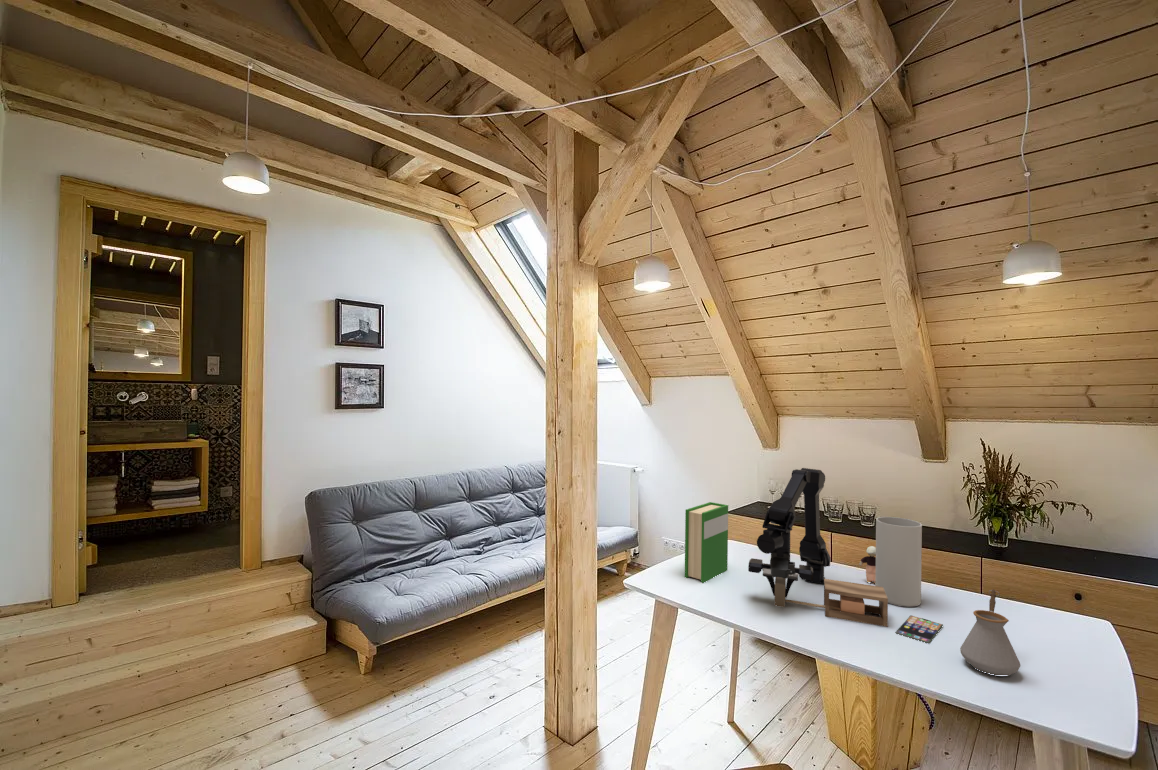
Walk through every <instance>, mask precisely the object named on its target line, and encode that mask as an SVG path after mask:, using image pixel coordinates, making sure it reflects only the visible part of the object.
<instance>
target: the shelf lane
mask: <svg viewBox="0 0 1158 770" xmlns="http://www.w3.org/2000/svg"><path fill="white" fill-rule="evenodd" d="M830 594H832V595H839V596H840V595H844V596H851V597H857V598H863V600H871V601H876V602H877V601H878V605H872V604H865V609H864V613H867V614H868V615H867V614H864V615H863V614H857V613H851V612H845V611H839V610H833V609H829V606H831V607H837V608H840V599H833V598H830ZM888 604H889V603H888V598H887V595H886V593H885V591H884V588H883V587H879V586H875V585H872V584H864V583H858V582H851V581H843V580H835V579H829V578H825V579H824V584H823V605H825V608H824V617H827V618H834V619H839V620H844V621H851V622H856V623H857V622H858V623H862V624H869V625H875V626H879V627H881V626H882V627H887V628H888V622H889V621H888V619H889V618H888V613H889V612H888V611H889V610H888V609H889V608H888V606H889V605H888ZM869 614H874V615H875V614H876V615H879V616H874V615H869Z"/></svg>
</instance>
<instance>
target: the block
mask: <svg viewBox="0 0 1158 770" xmlns="http://www.w3.org/2000/svg"><path fill="white" fill-rule="evenodd" d="M774 583H775V596H774V606H775V607H781V608H786V603H789V604H796V605H802V606H809V607H815V608H821V609H825V605H824V604H817V603H811V602H807V601H806V602H805V601H799V600H792V599H789V598H788V599H786V598H785V590H786V583H787V578H786V579H784V578H781V577H774ZM839 600H840V608H837V607H831V606H829V609H833V610H839V611H845V612H851V613H857V614H863V615H865V612H864V609H865V601H864V600H865V599H864V598H857V597H851V596H844V595H839Z"/></svg>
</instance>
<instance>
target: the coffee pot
mask: <svg viewBox="0 0 1158 770" xmlns="http://www.w3.org/2000/svg"><path fill="white" fill-rule="evenodd" d="M990 592H991V593H990ZM996 592H997V593H998V595H996V594H997V593H996ZM988 594H990V595H989V596H990V598H989V601H988V602H989V604H988V605H989V609H988V610H984V609H977V610H974V611H973V612H972V613H973V615H974V616H975V620H976V621H975V623H974V624H973V626H972V628H971V629H970V631H969V633H968V634H967V635H966V636H967V637H966V638H965V639H964V641H963V643H962V644H961V646H960V650H959V651H960V654H961V656H962V658H963V659H964V660H965V661H966V662H967V663H968V664H969V665H970V664H971V665H972V666H973V667H974V668H976V669H978V670H980V671H983V672H986V673H990V674H994V675H1009V676H1010V675H1013V674H1015V673H1017V672H1018V671H1019V670H1020V668H1021V663H1020V660H1019V657H1018V655H1017V653H1016V652H1015V649H1014V647H1013V645H1012V642H1011V640H1010V639H1009V637H1008V634H1007V632H1006V630H1005V628H1004V627H1005V626H1006V624H1007V623H1008V622H1010V620H1009V619H1008V618H1006V616H1004V615H1002V614H1000V613H997V612H995V610H996V609H995V608H996V604H997V603H996V602H997V601H996V598H997V597H999V596H1000V592H999V591H997V590H995V589H991V590H988ZM971 665H970V666H971ZM972 666H971V667H972ZM973 667H972V668H973ZM974 668H973V669H974ZM976 669H975V670H976ZM978 670H977V671H978ZM980 671H979V672H980Z"/></svg>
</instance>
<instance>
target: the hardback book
mask: <svg viewBox="0 0 1158 770" xmlns="http://www.w3.org/2000/svg"><path fill="white" fill-rule="evenodd" d="M684 523H685V526H684V527H685V528H684V530H685V531H684V537H685V538H684V578H685V577H686V578H685V579H689V578H690V577H691V578H693V579H697V580H700V583H701V582H702V584H705V583H706V581H707V582H708V581H710V580H712V579H714V578H716V577H718V576H720V575H721V573H722V574H724V573H725V572H727V571H728V566H729V565H728V563H729V562H728V554H729V553H728V551H729V550H728V549H729V545H728V544H729V504H722V503H718V502H712V501H711V502H710V501H709V502H706V503H703V504H699V505H696V506H693V507H689V508H687V509H685V519H684ZM719 574H720V575H719ZM717 575H718V576H717ZM715 576H716V577H715ZM713 577H714V578H713ZM704 582H705V583H704Z"/></svg>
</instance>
